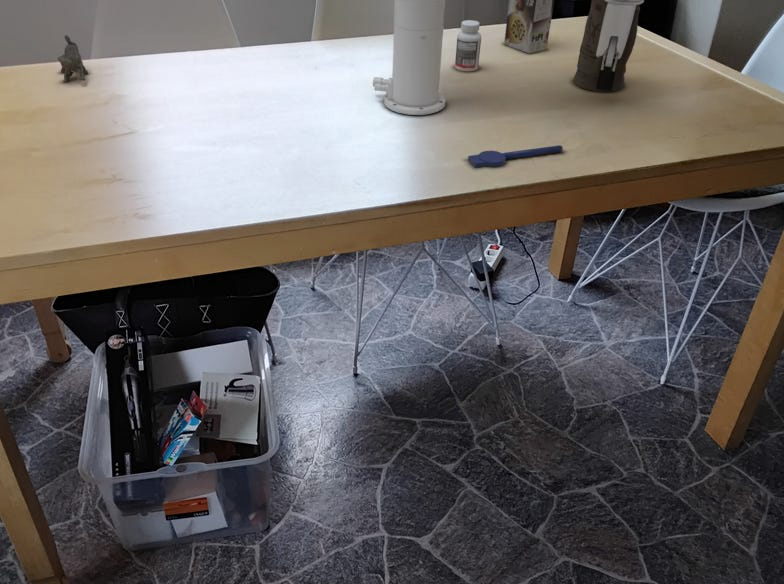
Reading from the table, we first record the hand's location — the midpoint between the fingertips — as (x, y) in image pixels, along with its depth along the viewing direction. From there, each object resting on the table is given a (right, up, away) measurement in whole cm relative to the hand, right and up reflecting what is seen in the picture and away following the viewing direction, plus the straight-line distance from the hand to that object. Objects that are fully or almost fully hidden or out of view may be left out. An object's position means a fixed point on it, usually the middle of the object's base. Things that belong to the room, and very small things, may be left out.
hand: (603, 88), depth 149 cm
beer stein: (+3, +3, +9) cm, 10 cm away
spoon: (-22, -19, -19) cm, 35 cm away
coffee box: (-10, +21, +29) cm, 37 cm away
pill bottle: (-26, +11, +17) cm, 33 cm away
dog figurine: (-113, +6, +9) cm, 113 cm away
